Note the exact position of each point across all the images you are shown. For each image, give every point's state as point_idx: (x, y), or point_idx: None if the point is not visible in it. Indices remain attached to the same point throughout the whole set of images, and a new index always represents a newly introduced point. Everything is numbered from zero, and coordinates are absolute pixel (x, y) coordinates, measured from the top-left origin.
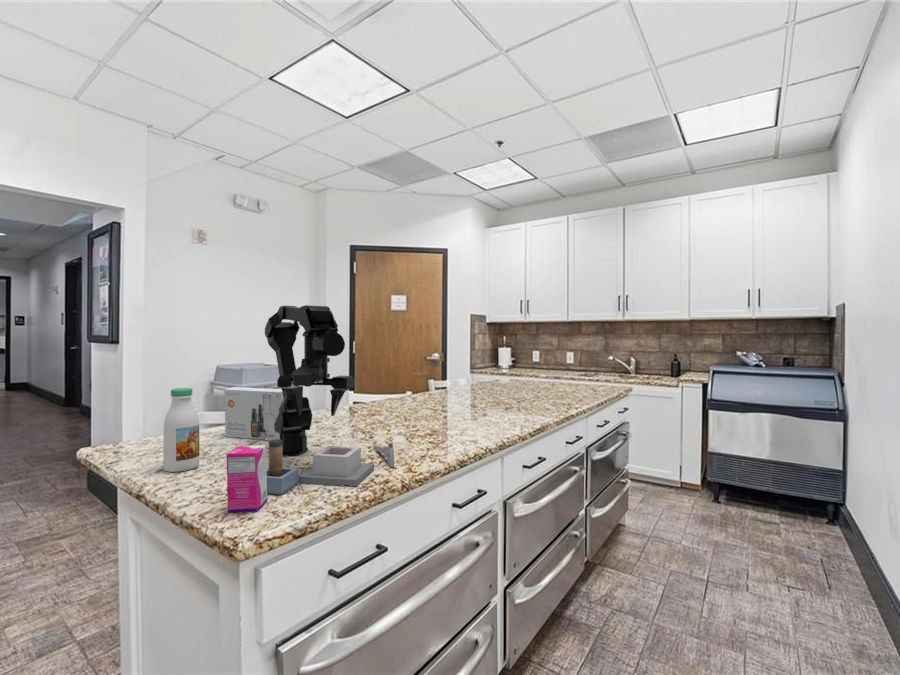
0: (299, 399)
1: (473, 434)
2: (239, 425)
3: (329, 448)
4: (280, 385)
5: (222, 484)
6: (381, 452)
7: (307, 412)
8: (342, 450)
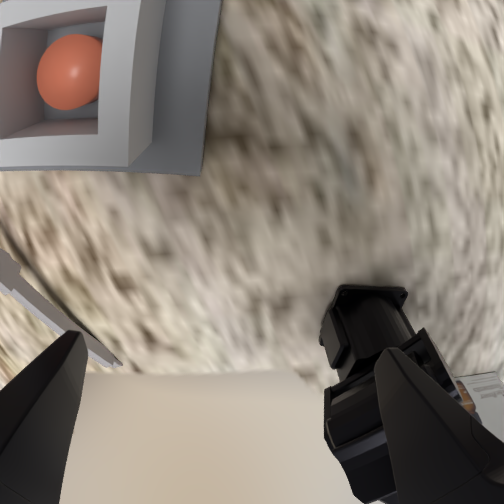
0: (421, 464)
1: None
2: (488, 394)
3: (101, 113)
4: None
5: (471, 4)
6: (41, 295)
7: (345, 438)
8: (49, 132)
